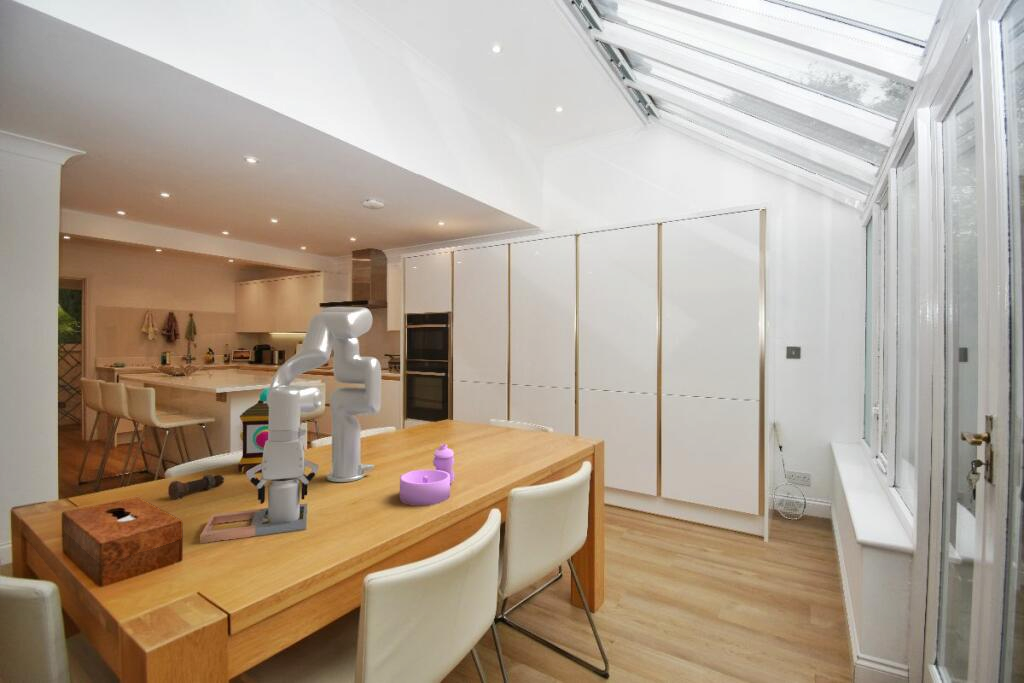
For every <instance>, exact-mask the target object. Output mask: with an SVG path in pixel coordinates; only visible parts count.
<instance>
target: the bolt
mask: <svg viewBox="0 0 1024 683" xmlns="http://www.w3.org/2000/svg"><path fill="white" fill-rule="evenodd" d="M224 480H225V477H224V476H222V475H220V474H217V475H211V474H205V475H203V476H202V478H200V479H196V480H191V481H187V482H182V481H179V480H173V481H171V482H170V483H169V485H168V489H167V490H168V497H169V498H170V499H171V498H174V499H173V500H179V499H178V498H180V499H182V498H183V495H186V494H188V493H193V492H196V491H201V490H204V489H210V490H212V489H211V488H213V489H214V488H215V486H219V485H222V484H224V482H225V481H224Z"/></svg>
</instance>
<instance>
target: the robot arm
mask: <svg viewBox="0 0 1024 683" xmlns="http://www.w3.org/2000/svg"><path fill="white" fill-rule="evenodd" d="M373 320H374V319H373V315H372V312H371V310H370V309H368V308H367V307H361V306H359V307H358V306H357V307H354V306H331V307H324V308H323V309H321V310H320V312H318V313H316V314H314V315H313V316H312V318H311V320H310V322H309V325H308V327H307V330H306V333H305V336H304V338H303V342H302V344H301V347H300V350H299V351H298V352H297V353H295V355H293V356H292V357H290V358H289V359H287V360H286V362H284V363H283V364H282V365H281V366H280V367H279V368H278V369H277V371H276V372H275V373H274V375H273V377H272V379H271V383H270V385H269V387H268V388H269V390H268V394H267V404H268V407H269V431H268V440H267V441H266V442H265V446H264V452H263V461H262V463H261V464H259V465H254V466H253V467H252V468H250V469H248V470H247V471H246V472H245V474H246V476H247V478H248V479H249V480H250V483H251V484H252V485H254V486H255V487H256V488H257V500H258V501H260V505H263V504H264V503H265V500H266V499H265V498H266V485H265V484H266V483H267V482H268V481H271V480H281V479H292V478H297V479H298V480H299V481H301V494H300V495H301V496H300V498H301V499H300V500H305V496H307V495H308V487H309V486H308V484H309V483H310V481H311V480H313V478H315V476H316V474H317V472H318V471H319V469H320V466H319V464H317V463H314V462H313V461H309V460H307V459H306V457H305V456H306V454H305V444H304V440H303V438H301V437H303V436H306V434H307V432H306V431H307V430H306V429H301V414H303V413H304V414H305V413H307V414H308V413H313V412H315V411H317V410H318V409H319V408H320V407H321V405H322V404H323V399H324V398H323V396H324V395H323V393H322V391H321V390H320V389H319V388H318V387H316V386H313V385H297V384H296V385H293V384H291V383H292V382H294V380H295V379H296V378H297V377H299V376H301V375H302V374H304V373H307V372H309V371H312V370H314V369H316V368H319V367H322V366H324V365H326V364H327V363H329V360H330V357H331V355H332V354H331V353H332V351H333V377H334V379H335V381H336V382H338V383H340V384H353V385H354V384H355V385H356V384H357V385H364V387H357V386H353V387H352V386H350V387H349V386H343V387H338V388H335V389H333V390H332V391H331V392H330V394H329V398H328V404H329V408H330V416H331V471H330V472H329V473H328V474H326V480H328V481H330V482H334V483H348V482H349V483H350V482H353V481H357V480H358V481H359V480H361V479H362V478H364V477H365V474H366V472H367V471H374V470H375V465H374V464H370V463H367V464H363V463H362V461H361V432H362V431H361V430H362V428H361V424H360V421H359V419H358V418H357V417H356V415H358V416H372V415H373V416H374V415H376V414H378V413H379V412H380V410H381V407H382V367H381V364H380V361H379V359H377V358H376V357H373V356H361V354H360V342H359V341H360V340H359V339H358V338H359V337H361V336H362V335H364V334H366V333H368V332H369V331H370V329H371V328H372V326H373ZM306 467H307V468H310V469H311V472H309V474H307V475H306V474H305V469H306ZM259 471H261V479H259V478H258V477H256V475H255V473H258V472H259Z"/></svg>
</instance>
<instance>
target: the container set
mask: <svg viewBox="0 0 1024 683" xmlns="http://www.w3.org/2000/svg"><path fill="white" fill-rule="evenodd" d="M454 454H455V453H454V451H453V450H452V449H451V448H448V444H440V448H438V449H435V451H434V452H433V456H434V458H433V460H432V465H433V466H434V468H435V469H416V470H412V471H411V470H410V471H408V472H405V473H403V474H402V475H400V476H399V500H400V502H402V503H404V502H405V503H404V504H406V503H407V504H406V505H410V504H413V505H412V506H430V505H431V504H432V505H437V504H440V502H441V503H443V501H444V502H445V500H446V501H447V500H448V499H449V498H450V496H451V492H450V491H451V489H450V488H451V485H452V483H453V482H454V480H455V472H454V470H453V466H454V465H455V458H454ZM436 503H437V504H436ZM432 505H431V506H432Z"/></svg>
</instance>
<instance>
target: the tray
mask: <svg viewBox="0 0 1024 683" xmlns="http://www.w3.org/2000/svg"><path fill="white" fill-rule="evenodd" d="M300 514H303V516H302V518H299V519H298V520H292V521H284V522H277V523H269V522H268V523H264V522H266V519H267V518H266V517H268V507H266V508H265V507H264V508H256V509H249V510H248V509H247V510H239V511H231V512H229V511H228V512H221V513H213V514H212V515H210V518H209V520H208V521H207V523H206V525H205V527H204V528H203V530H202V532H201V533H200V535H199V538H200V540H199V541H200V542H199V543H202V544H209V543H215V541H216V542H221V541H220V540H224V541H229V539H231V540H236V539H237V538H238V539H244V538H245V539H246V538H251V537H252V536H253V537H259V536H266V535H274V534H281V533H283V534H284V533H288V532H296V531H302V530H303V531H304V530H307V519H308V503H300ZM265 518H266V519H265ZM249 519H253V520H251V523H250V525H245V526H241V527H240V526H239V527H230V528H224V529H215V530H213V527H214V526H213V525H219V524H218V523H221V524H226V523H225V522H229V523H234V522H233V521H237V522H244V521H243V520H245V521H250V520H249ZM238 539H237V540H238ZM208 542H209V543H208Z"/></svg>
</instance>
